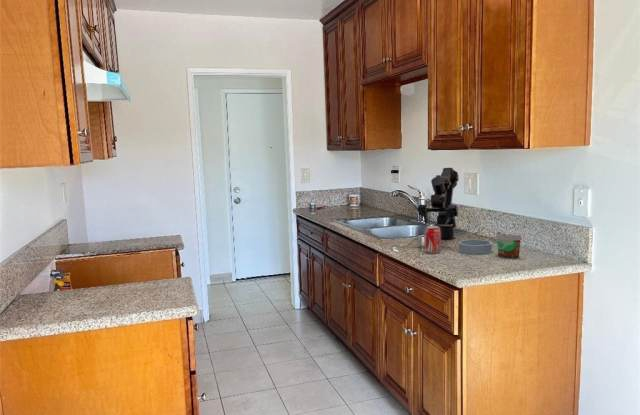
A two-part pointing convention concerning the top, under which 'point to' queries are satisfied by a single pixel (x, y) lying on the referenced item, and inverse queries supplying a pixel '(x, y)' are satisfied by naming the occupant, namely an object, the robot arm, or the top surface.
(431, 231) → the soda can
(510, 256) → the food container
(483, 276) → the top surface
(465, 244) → the bowl
